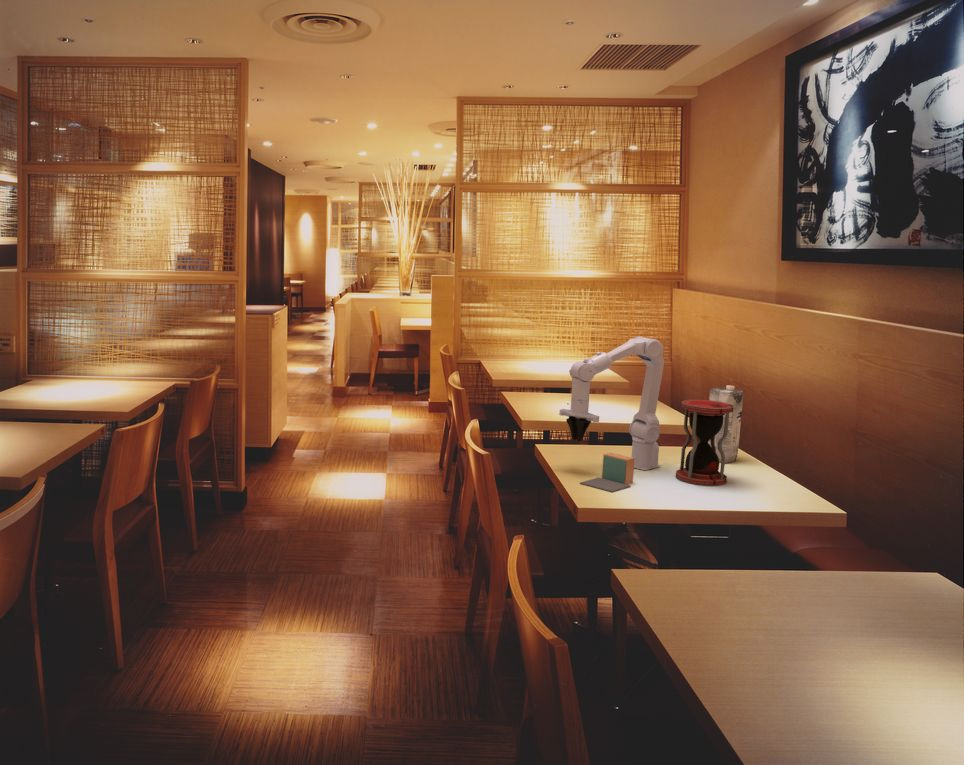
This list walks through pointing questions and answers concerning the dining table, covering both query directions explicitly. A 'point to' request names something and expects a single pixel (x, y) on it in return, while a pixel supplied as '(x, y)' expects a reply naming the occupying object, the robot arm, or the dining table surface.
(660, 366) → the robot arm
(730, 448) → the juice carton
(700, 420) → the hourglass
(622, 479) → the orange rectangular block
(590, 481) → the charcoal mat
